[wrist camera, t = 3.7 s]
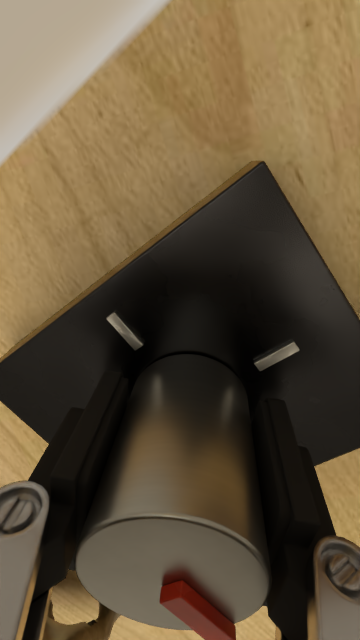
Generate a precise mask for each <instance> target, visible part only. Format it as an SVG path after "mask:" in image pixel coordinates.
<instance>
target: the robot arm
mask: <svg viewBox="0 0 360 640" xmlns="http://www.w3.org/2000/svg"><path fill="white" fill-rule="evenodd" d="M128 381H129V380H128V378H123V373H120V372H114V371H108V370H106V371H105V372H104V373H103V375H102V377H101V379H100V381H99V383H98V385H97V387H96V389H95V391H94V393H93V394H92V396H91V398H90V400H89V402H88V404H87V406H86V408H85V409H81V408H75V407H72V408H71V409H70V410H69V411H68V413H67V414H66V416H65V418H64V420H63V421H62V423H61V425H60V426H59V428H58V430H57V432H56V433H55V435H54V437H53V438H52V440H51V442H50V444H49V445H48V447H47V449H46V450H45V452H44V454H43V455H42V457H41V459H40V461H39V462H38V464H37V466H36V467H35V469H34V471H33V473H32V474H31V476H30V478H29V479H28V481H18V482H13V483H10V484H8V485H5V486H3V487H1V488H0V640H43V635H44V630H45V625H46V620H47V615H48V610H49V605H50V600H51V595H52V590H53V586H54V585H56V584H57V583H59V582H60V581H62V580H63V579H65V578H66V575H67V572H68V569H69V570H74V571H75V563H74V555H75V549H76V546H77V543H78V541H79V538H80V535H81V532H82V530H83V527H84V524H85V521H86V518H87V516H88V513H89V510H90V507H91V504H92V502H93V499H94V496H95V493H96V491H97V488H98V485H99V482H100V479H101V477H102V474H103V471H104V468H105V466H106V463H107V460H108V457H109V454H110V452H111V449H112V446H113V443H114V440H115V438H116V435H117V432H118V429H119V427H120V424H121V421H122V418H123V415H124V413H125V410H126V406H127V394H128ZM251 428H252V436H253V443H254V450H255V458H256V465H257V472H258V480H259V487H260V495H261V502H262V509H263V517H264V524H265V531H266V539H267V546H268V554H269V561H270V568H271V576H272V584H271V590H270V593H269V596H268V598H267V600H266V601H265V603H264V605H263V606H267V608H268V616H269V617H270V618H271V620H272V621H273V622H274V623H275V625H276V632H275V640H360V547H358V546H357V545H356V544H354V543H353V542H351V541H349V540H347V539H345V538H343V537H338V536H336V533H335V530H334V527H333V524H332V520H331V517H330V514H329V511H328V508H327V505H326V502H325V499H324V496H323V492H322V489H321V486H320V483H319V480H318V477H317V474H316V471H315V468H314V465H313V461H312V458H311V455H310V453H309V450H308V449H307V448H306V447H301V446H298V444H297V440H296V437H295V433H294V430H293V426H292V423H291V420H290V416H289V413H288V409H287V406H286V403H285V401H284V400H280V399H274V398H268V397H267V398H265V400H264V401H259V402H258V404H257V407H256V411H255V414H254V417H253V421H252V424H251Z"/></svg>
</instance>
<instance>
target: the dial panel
mask: <svg viewBox="0 0 360 640" xmlns="http://www.w3.org/2000/svg"><path fill="white" fill-rule="evenodd" d="M180 354H193V355H200V356H205V357H208V358H211V359H214V360H216V361H218V362H220V363H222V364H223V365H225V366H226V367H228V368H229V369H230V370H231V371H232V372H234V374H235V375H236V376H237V377H238V378H239V379H240V381H241V382H242V384H243V386H244V388H245V390H246V394H247V399H248V406H249V413H250V421H251V424H252V421H253V417H254V414H255V411H256V407H257V404H258V402H259V401H264V400H265V398H267V397H268V398H274V399H280V400H284V401H285V403H286V406H287V409H288V413H289V416H290V420H291V423H292V426H293V430H294V433H295V437H296V440H297V444H298V446H301V447H306V448H307V449H308V450H309V453H310V455H311V458H312V461H313V465H314V466H316V465H318V464H321V463H323V462H326V461H328V460H331V459H333V458H336V457H338V456H341V455H343V454H346V453H348V452H351V451H353V450H356V449H358V448H360V320H359V318H358V316H357V315H356V313H355V311H354V310H353V308H352V306H351V305H350V303H349V301H348V300H347V298H346V296H345V295H344V293H343V291H342V290H341V288H340V286H339V285H338V283H337V281H336V280H335V278H334V276H333V275H332V273H331V271H330V270H329V268H328V266H327V265H326V263H325V261H324V260H323V258H322V256H321V255H320V253H319V251H318V250H317V248H316V246H315V245H314V243H313V241H312V240H311V238H310V236H309V235H308V233H307V231H306V230H305V228H304V226H303V225H302V223H301V221H300V220H299V218H298V216H297V215H296V213H295V211H294V210H293V208H292V206H291V205H290V203H289V201H288V200H287V198H286V196H285V195H284V193H283V191H282V190H281V188H280V186H279V185H278V183H277V181H276V180H275V178H274V176H273V175H272V173H271V171H270V170H269V168H268V166H267V165H266V163H265V162H264V161H251V162H250V163H249V164H248V165H246V166H245V167H244V168H242V169H241V170H240V171H239V172H237V173H236V174H235V175H233V176H232V177H231V178H230V179H228V180H227V181H226V182H224V183H223V184H222V185H220V186H219V187H218V188H217V189H215V190H214V191H213V192H211V193H210V194H209V195H208V196H206V197H205V198H204V199H202V200H201V201H200V202H199V203H197V204H196V205H195V206H193V207H192V208H191V209H190V210H188V211H187V212H186V213H184V214H183V215H182V216H181V217H179V218H178V219H177V220H175V221H174V222H173V223H172V224H170V225H169V226H168V227H166V228H165V229H164V230H163V231H161V232H160V233H159V234H157V235H156V236H155V237H154V238H152V239H151V240H150V241H148V242H147V243H146V244H145V245H143V246H142V247H141V248H139V249H138V250H137V251H136V252H134V253H133V254H132V255H130V256H129V257H128V258H127V259H125V260H124V261H123V262H121V263H120V264H119V265H118V266H116V267H115V268H114V269H112V270H111V271H110V272H109V273H107V274H106V275H105V276H103V277H102V278H101V279H100V280H98V281H97V282H96V283H94V284H93V285H92V286H90V287H89V288H88V289H87V290H85V291H84V292H83V293H81V294H80V295H79V296H78V297H76V298H75V299H74V300H72V301H71V302H70V303H69V304H67V305H66V306H65V307H63V308H62V309H61V310H60V311H58V312H57V313H56V314H54V315H53V316H52V317H51V318H49V319H48V320H47V321H45V322H44V323H43V324H42V325H40V326H39V327H38V328H36V329H35V330H34V331H33V332H31V333H30V334H29V335H27V336H26V337H25V338H24V339H22V340H21V341H20V342H18V343H17V344H16V345H15V346H13V347H12V348H11V349H10V350H9V351H8V352H7V353H6V354H5V355H4V356H2V357H1V358H0V401H1V402H2V403H3V404H4V405H6V406H7V407H8V408H9V409H10V410H11V411H12V412H13V413H15V414H16V415H17V416H18V417H19V418H20V419H21V420H23V421H24V422H25V423H26V424H27V425H28V426H29V427H30V428H32V429H33V430H34V431H35V432H36V433H37V434H38V435H39V436H41V437H42V438H43V439H44V440H45V441H46V442H47V443H49V444H50V442H51V440H52V438H53V437H54V435H55V433H56V432H57V430H58V428H59V426H60V425H61V423H62V421H63V420H64V418H65V416H66V414H67V413H68V411H69V410H70V409H71V408H72V407H75V408H81V409H85V408H86V406H87V404H88V402H89V400H90V398H91V396H92V394H93V393H94V391H95V389H96V387H97V385H98V383H99V381H100V379H101V377H102V375H103V373H104V372H105V371H106V370H108V371H114V372H120V373H123V378H128V380H129V381H128V394H127V404H128V401H129V399H130V396H131V393H132V390H133V388H134V385H135V382H136V380H137V379H138V377H139V376H140V374H141V373H142V372H143V371H144V370H145V369H146V368H147V367H148V366H150V365H151V364H153V363H154V362H156V361H158V360H160V359H163V358H165V357H169V356H173V355H180ZM126 407H127V406H126Z"/></svg>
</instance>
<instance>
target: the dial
mask: <svg viewBox="0 0 360 640" xmlns="http://www.w3.org/2000/svg"><path fill="white" fill-rule="evenodd" d="M74 563H75V570H76V573H77V576H78V578H79V580H80V582H81V584H82V585H83V586H84V588H85V589H86V590H87V591H88V592H89V593H90V594H91V595H92V596H93V597H94V598H95V599H96V600H98V601H99V602H100V603H101V604H103V605H104V606H106V607H107V608H109V609H111V610H113V611H114V612H116V613H118V614H120V615H123V616H125V617H127V618H130V619H132V620H135V621H138V622H141V623H144V624H148V625H152V626H156V627H161V628H168V629H176V630H194V631H195V632H196V633H197V634H199V635H200V636H201V637H202V638H204V639H205V640H236V629H235V625H234V624H235V623H237V622H240V621H242V620H244V619H246V618H248V617H249V616H251V615H253V614H254V613H255V612H257V611H258V610H259V609H260V608H261V607H262V606H263V605H264V603H265V601H266V600H267V598H268V596H269V593H270V590H271V584H272V576H271V568H270V561H269V554H268V546H267V539H266V531H265V524H264V517H263V509H262V502H261V495H260V487H259V480H258V472H257V465H256V458H255V450H254V443H253V436H252V428H251V421H250V413H249V406H248V399H247V394H246V390H245V388H244V386H243V384H242V382H241V381H240V379H239V378H238V377H237V376H236V375H235V374H234V372H232V371H231V370H230V369H229V368H228V367H226V366H225V365H223V364H222V363H220V362H218V361H216V360H214V359H211V358H208V357H205V356H200V355H193V354H180V355H173V356H169V357H165V358H163V359H160V360H158V361H156V362H154V363H153V364H151V365H150V366H148V367H147V368H146V369H145V370H144V371H143V372H142V373H141V374H140V376H139V377H138V379H137V380H136V382H135V385H134V388H133V390H132V393H131V396H130V399H129V401H128V404H127V407H126V410H125V413H124V415H123V418H122V421H121V424H120V427H119V429H118V432H117V435H116V438H115V440H114V443H113V446H112V449H111V452H110V454H109V457H108V460H107V463H106V466H105V468H104V471H103V474H102V477H101V479H100V482H99V485H98V488H97V491H96V493H95V496H94V499H93V502H92V504H91V507H90V510H89V513H88V516H87V518H86V521H85V524H84V527H83V530H82V532H81V535H80V538H79V541H78V543H77V546H76V549H75V555H74Z"/></svg>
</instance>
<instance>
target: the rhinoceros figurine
mask: <svg viewBox="0 0 360 640" xmlns="http://www.w3.org/2000/svg"><path fill="white" fill-rule="evenodd" d="M52 608H53V604H52V601H51V600H50V605H49V610H48V615H47V620H46V625H45V630H44V635H43V640H108V639H109V637H110V634H111V630H112V627H113V624H114V622H115V621H116V620H117V618H118V617H120V614H118V613H116V612H114V611H113V610H111V609H109V608H107V607H106V606H104V605H103V604H101V603H100V602H99V616H98V618H97V619H96V620H92V621H91V622H88V623H86V622H80V623H78V624H73V625H66V624H62V623H58V622H57V621H55V620H54V616H53V612H52Z"/></svg>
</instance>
